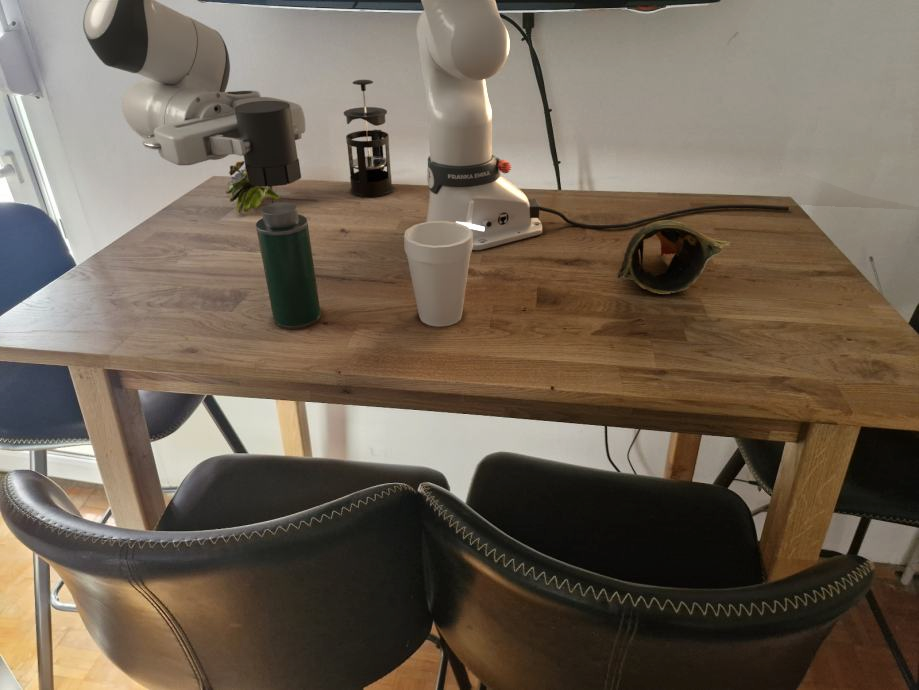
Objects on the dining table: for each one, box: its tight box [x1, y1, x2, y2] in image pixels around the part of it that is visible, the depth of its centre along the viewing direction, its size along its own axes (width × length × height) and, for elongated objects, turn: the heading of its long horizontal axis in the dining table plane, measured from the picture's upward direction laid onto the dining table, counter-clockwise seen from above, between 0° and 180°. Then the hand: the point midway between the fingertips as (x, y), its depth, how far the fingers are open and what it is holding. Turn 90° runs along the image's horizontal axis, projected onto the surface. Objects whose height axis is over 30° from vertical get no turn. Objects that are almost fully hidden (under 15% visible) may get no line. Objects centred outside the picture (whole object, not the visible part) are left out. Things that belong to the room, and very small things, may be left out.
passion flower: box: [225, 160, 281, 216], centre depth 134 cm, size 11×11×12 cm
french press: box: [343, 79, 394, 199], centre depth 138 cm, size 12×9×23 cm
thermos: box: [255, 201, 322, 331], centre depth 91 cm, size 7×7×17 cm
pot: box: [616, 219, 734, 295], centre depth 104 cm, size 17×11×18 cm
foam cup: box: [403, 221, 473, 328], centre depth 92 cm, size 10×9×13 cm
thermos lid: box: [235, 101, 302, 188], centre depth 82 cm, size 7×7×9 cm
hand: (272, 140), depth 81 cm, fingers closed on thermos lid, 6 cm apart
